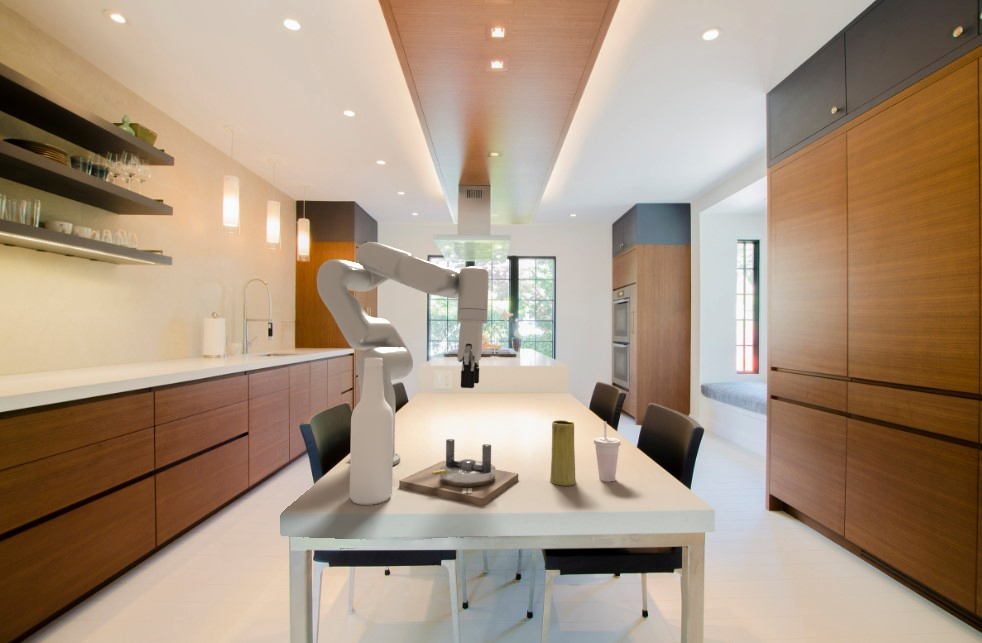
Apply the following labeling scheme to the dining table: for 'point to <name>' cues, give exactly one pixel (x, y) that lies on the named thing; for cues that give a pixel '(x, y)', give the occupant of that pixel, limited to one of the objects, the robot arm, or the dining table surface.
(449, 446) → the dial
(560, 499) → the dining table surface
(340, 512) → the dining table surface
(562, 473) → the vase
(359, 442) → the alcohol
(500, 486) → the stand board
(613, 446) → the smoothie
